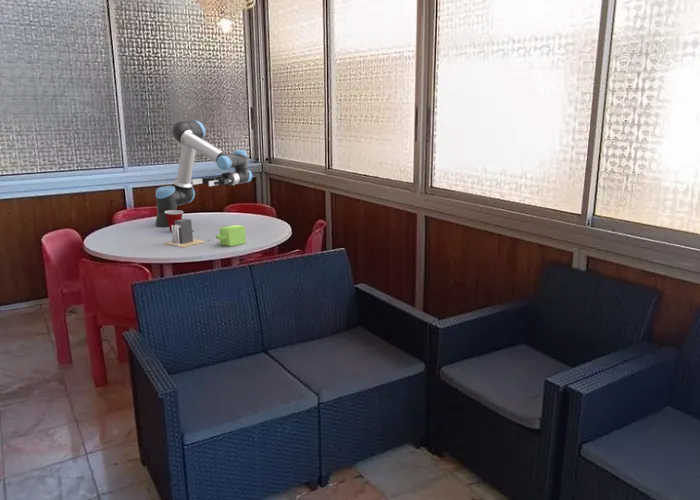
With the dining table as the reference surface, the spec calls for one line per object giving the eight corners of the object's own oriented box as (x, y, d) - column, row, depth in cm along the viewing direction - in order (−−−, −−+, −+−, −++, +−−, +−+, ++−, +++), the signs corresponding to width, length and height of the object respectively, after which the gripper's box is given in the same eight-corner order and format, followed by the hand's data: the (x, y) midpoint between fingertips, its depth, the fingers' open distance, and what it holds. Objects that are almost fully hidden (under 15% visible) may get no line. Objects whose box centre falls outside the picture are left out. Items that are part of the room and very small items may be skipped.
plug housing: (176, 242, 316) (174, 220, 313) (187, 240, 321) (185, 218, 318) (182, 244, 313) (180, 221, 310) (193, 241, 318) (191, 219, 315)
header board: (163, 243, 316) (162, 224, 313) (186, 238, 327) (184, 220, 325) (183, 247, 307) (181, 228, 304) (205, 241, 318) (204, 223, 316)
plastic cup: (179, 233, 340) (178, 213, 337) (162, 233, 342) (160, 212, 340) (188, 229, 351) (186, 209, 348) (171, 229, 353) (169, 209, 350)
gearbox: (240, 240, 324) (239, 223, 322) (252, 241, 318) (251, 224, 316) (213, 245, 310) (212, 227, 309) (225, 247, 304) (224, 229, 302)
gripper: (245, 186, 336) (216, 191, 319) (215, 183, 350) (186, 188, 334) (244, 173, 334) (215, 177, 317) (214, 171, 348) (185, 174, 332)
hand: (200, 183), depth 325 cm, fingers open, 13 cm apart
